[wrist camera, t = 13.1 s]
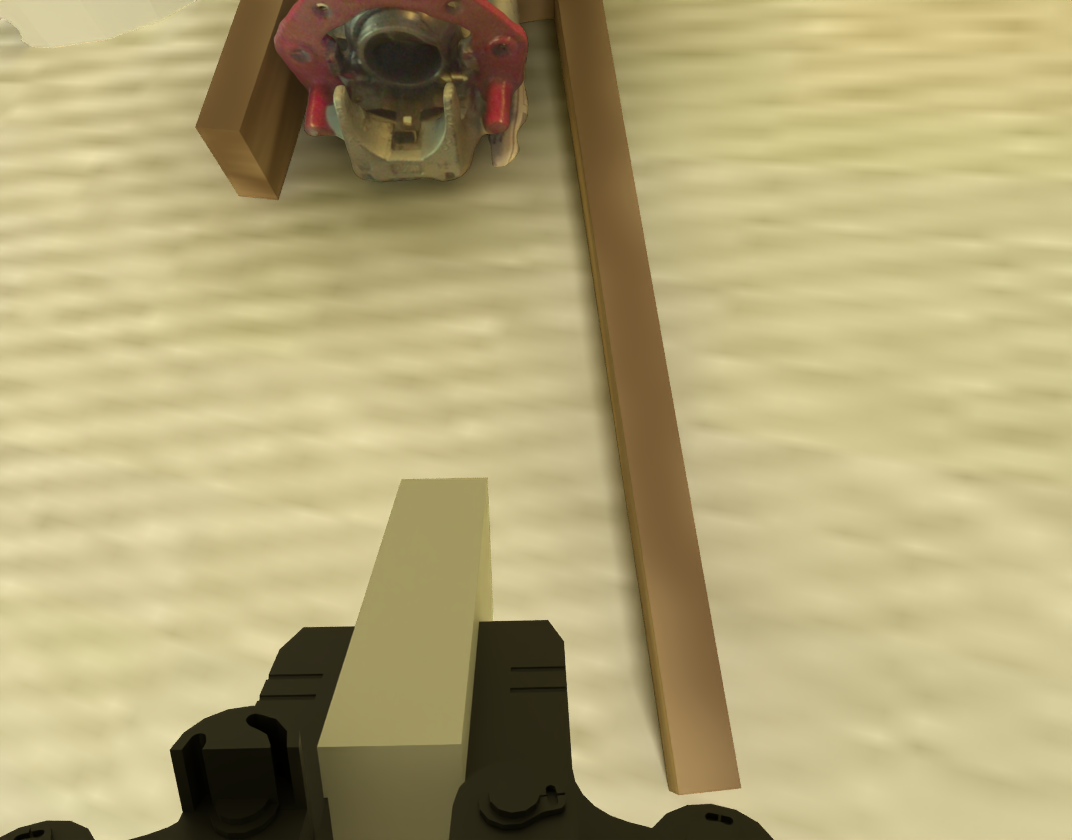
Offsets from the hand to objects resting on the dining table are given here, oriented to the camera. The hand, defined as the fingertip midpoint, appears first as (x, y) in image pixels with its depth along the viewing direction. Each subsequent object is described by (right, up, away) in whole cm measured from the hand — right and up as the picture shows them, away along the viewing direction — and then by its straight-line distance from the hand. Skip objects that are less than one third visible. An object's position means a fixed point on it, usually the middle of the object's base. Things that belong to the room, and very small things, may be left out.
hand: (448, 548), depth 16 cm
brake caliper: (-4, +17, +28) cm, 34 cm away
